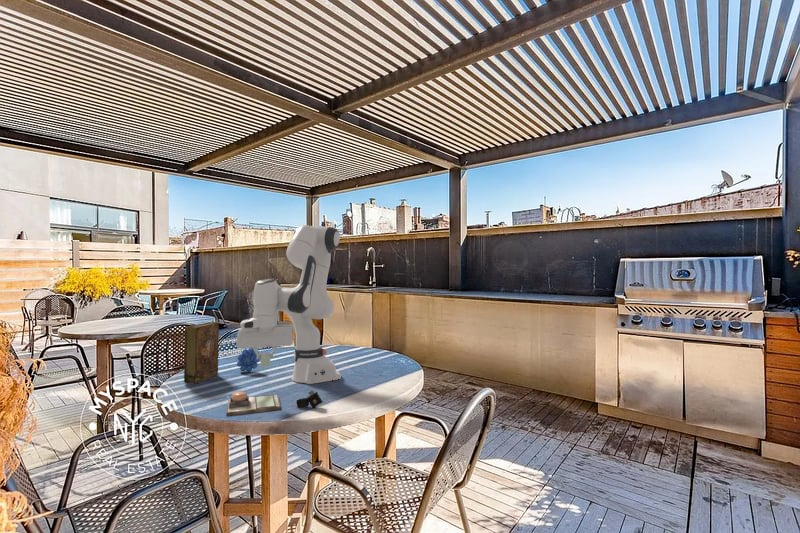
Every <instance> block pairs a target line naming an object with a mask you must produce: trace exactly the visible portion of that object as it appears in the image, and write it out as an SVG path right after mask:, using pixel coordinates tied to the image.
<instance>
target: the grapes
mask: <svg viewBox="0 0 800 533" xmlns="http://www.w3.org/2000/svg"><path fill="white" fill-rule="evenodd" d="M257 352H258V354H260V353H259V350H257ZM237 360H238V361H237V362H236V366H237V367H239V369H240V371H241V372H245V371H246V372H247V373H249V372H250V373H251V372H252V371H253V369H257V367H258V366H259V364H258V363H259V362H260V359H257V355H256V353H255V352H254V347H253V348H243V349H242V351H241V353H240V354H239V355H237Z"/></svg>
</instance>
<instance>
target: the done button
mask: <svg viewBox="0 0 800 533" xmlns="http://www.w3.org/2000/svg"><path fill="white" fill-rule="evenodd" d="M247 396H248V392H246V391H235V392H233V393H231V397H232V402H241V401H246V400H247Z"/></svg>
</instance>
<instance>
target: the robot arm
mask: <svg viewBox="0 0 800 533" xmlns="http://www.w3.org/2000/svg"><path fill="white" fill-rule="evenodd" d="M340 239H341V235H340V232H339V230H338V229H337V228H336V227H332V226H323V225H308V224H305V225H300V226H298V227H296V228H295V230H294V231H293V236H292V238H291V240H290V242H289V244H288V246H287V249H286V253H285V254H286V258H287V260H288V262H289V263H290V264H292V265H293V266H294V267H295V268H298V269H300V270H301V274H300V279H299V284H298V285H297V286H295V287H284V286H282V285H279V284H278V282H277V279H274V278H264V279H260V280H257V281H255V284H254V288H253V289H254V290H253V297H252V299H253V300H252V302H253V304H252V305H253V307H254V308H253V313H252V317H251V318H247V319H243V320H241V322H240V323H239V326H240V328H239V329H238V332H237V335H236V342H235V343H236V344H235V346H236V348H237V349H249V348H253V349H254V352H255V353H256V355H257V359H261V354H260V353H259V354H258V352H259V350H258V349H259V348H266V347H267V348H269V347H271V348H272V349H271V352H269V356H270V359H273V358H274V354H275V353H276V350H277V347H282V346H283V347H284V346H285V347H287V346H291V345H292V344H293V343H294V342H293V337H294V336H293V332H295V348H294V352H293V353H294V354H293V357H294V358H293V359H294V360H293V361H294V368H293V371H292V376H291V381H292V382H295V383H302V384H303V383H304V384H307V385H312V384H319V383H326V382H331V381H332V380H333V381H338V379H339V380H341V378H342V375H341V373H340V372H339V371H337V367H336V364H335V363H334V362H333V361H332V360H331V359H330V358H328V357H327V356H326V354H327V350H326V349H324V348H323V347H321V331H320V329H319V328H318V327H317V326H316V325H315V324H314V323H313V320H323V319H328V318H330V317H331V316H332V315H333V313H334V310H335V304H334V302H333V301H334V300H333V299H332V298H331V297H330V296H329V294H328V291H327V281H328V277H329V276H328V275H329V272H330V267H331V260H332V258H331V257H332V254H331V253H333V251H334V250H336V248H337V247H338V246H339V244H340ZM278 312H284V314H286V316H287V317H288V318H289V319H290V321H289V320H285V321H281V320H280V321H278V320H279V319H278V316H279V315H278ZM257 351H258V352H257Z"/></svg>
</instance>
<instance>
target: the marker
mask: <svg viewBox="0 0 800 533" xmlns="http://www.w3.org/2000/svg"><path fill="white" fill-rule="evenodd" d="M269 353H270V352H260V353H259V354H261V359H260V361H259V362H260V363H259V364H260V368H263V367H270V366H271V358H270V356H269Z"/></svg>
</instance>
